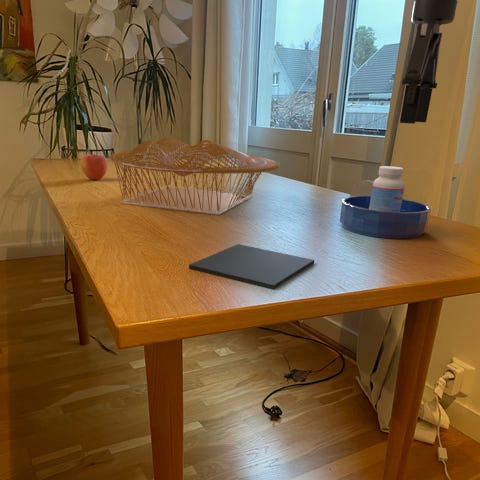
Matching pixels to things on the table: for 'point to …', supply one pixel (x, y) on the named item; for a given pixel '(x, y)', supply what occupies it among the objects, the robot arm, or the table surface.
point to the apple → (94, 166)
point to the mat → (253, 265)
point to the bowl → (384, 219)
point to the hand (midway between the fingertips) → (413, 122)
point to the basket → (182, 196)
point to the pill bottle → (387, 190)
